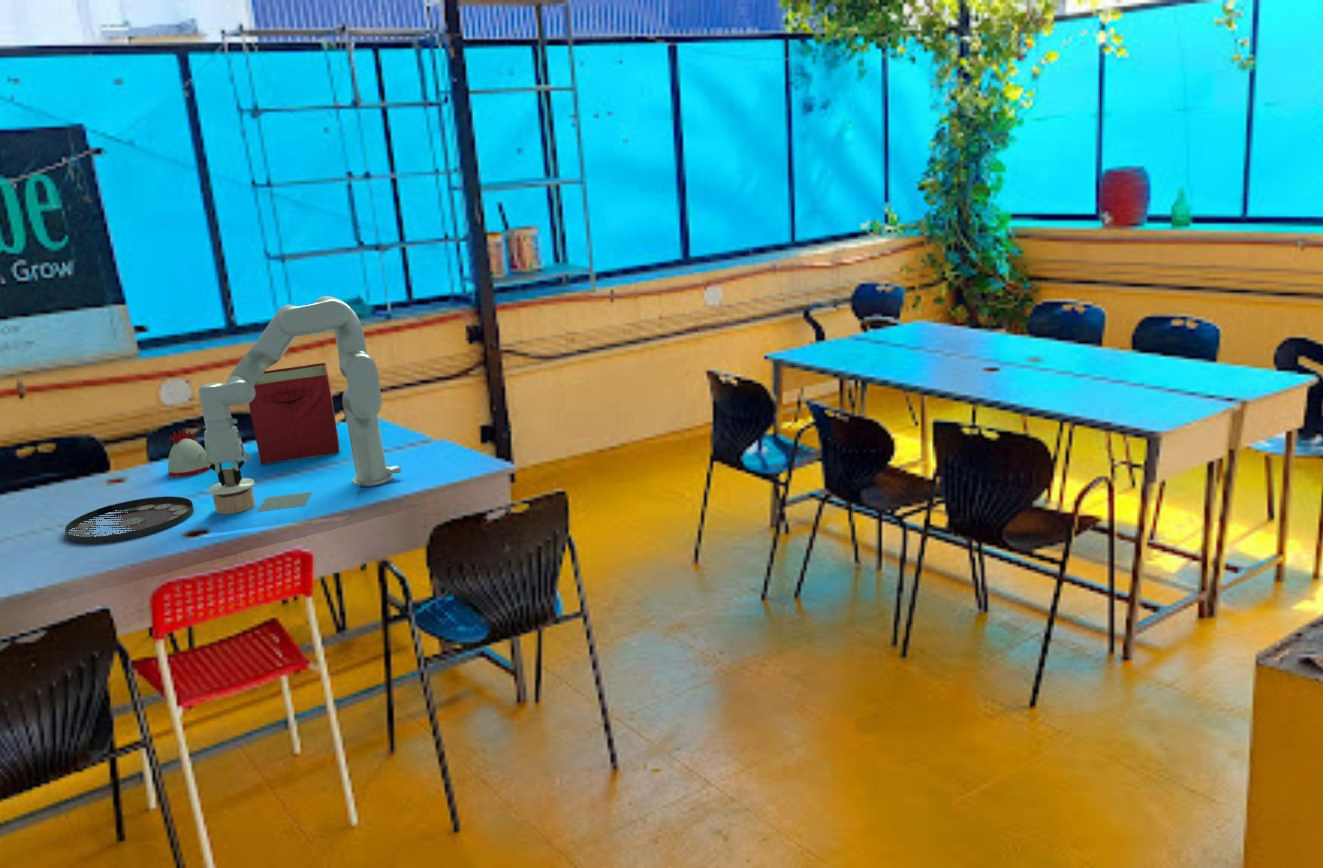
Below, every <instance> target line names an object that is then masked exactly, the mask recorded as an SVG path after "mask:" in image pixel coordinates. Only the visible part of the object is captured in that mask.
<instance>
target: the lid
mask: <svg viewBox="0 0 1323 868" xmlns="http://www.w3.org/2000/svg"><path fill="white" fill-rule="evenodd" d="M234 469H235V468H234V466H233V467H225V468H222V473H223V478H224V483H225V485H224V486H222V485H221V483H219V482H218V483H215V484H213V485H211V486H210V487H209V488H208V493H209V494H210V495H223V494H231V493H236V492H240V491H243V490H246V489H249V488H252V487H254V486H255V484H256V482H255V479H252V478H248V477H247V478H245V477H242V480H241V482H240V483H239V484H236V481H235V476H234V471H235V470H234Z"/></svg>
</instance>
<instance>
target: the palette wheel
mask: <svg viewBox="0 0 1323 868" xmlns="http://www.w3.org/2000/svg"><path fill="white" fill-rule="evenodd" d="M115 510H117V511H115ZM118 510H119V511H118ZM120 510H121V511H120ZM125 510H126V511H125ZM127 510H128V511H127ZM194 510H195V509H194V503H193V501H192V500H191V499H189V498H187V497H181V496H154V497H145V498H140V499H139V498H138V499H133V500H132V499H131V500H127V501H123V502H118V503H115V504H110V505H107V506H102V507H100V508H97V509H95V510H91V511H90V512H87V513H85V514H82V515H80V516H78V517H77V518H74V519H73V520H71V521H70V522H68V524H66V526H65V529H64V531H65V534H66V538H67V539H68V540H69V541H70V540H71V542H73V541H75V542H74V543H77V542H79V543H80V544H101V543H100V542H106V543H110V542H109V541H114V542H119V540H121V541H126V540H125V539H127V540H130V539H135V538H139V537H143V536H147V535H151V534H154V533H158V532H161V531H163V530H167V529H169V528H172V527H174V526H176V525H178V524H180V523H182V522H184V521H185V520H187V519H188V518H190V517H191V516H192V514H193V513H194ZM108 512H121V513H115V514H114V513H113V514H105V513H108ZM122 512H123V513H122ZM125 512H126V513H125ZM127 512H128V513H127ZM99 515H114V516H99ZM115 515H116V516H115ZM118 515H119V516H118ZM120 515H121V516H120ZM93 517H117V518H104V519H121V520H112V521H122V522H118V523H119V525H118V524H117V525H116V524H115V525H114V524H113V525H103V526H124V527H112V528H126V529H119V530H132V531H126V533H121V534H114V533H112V535H111V534H110V535H108V536H107V535H106V536H102V535H101V536H96V537H94V535H96V534H92V533H91V531H90V533H89V534H84V533H87V532H89V530H96V529H89V528H96V527H92V526H100V525H95V524H96V522H95V521H96V520H92V522H93V521H94V522H95V523H94V522H93V523H92V522H91V523H90V522H89V523H88V522H84V521H91V520H89V519H96V518H93ZM118 517H119V518H118ZM120 517H121V518H120ZM97 519H98V518H97ZM122 519H123V520H122ZM97 521H98V520H97ZM99 521H100V520H99ZM101 521H102V520H101ZM108 521H109V520H108ZM110 521H111V520H110ZM80 523H82V525H81V524H80ZM83 523H85V524H83ZM113 523H114V522H113ZM115 523H117V522H115ZM138 523H139V524H138ZM79 524H80V525H79ZM101 526H102V525H101ZM125 526H126V527H125ZM128 526H129V527H128ZM72 528H75V529H72ZM76 528H77V529H76ZM83 528H84V529H83ZM85 528H88V529H85ZM97 528H98V527H97ZM99 528H100V527H99ZM110 528H111V527H110ZM127 528H130V529H127ZM131 528H132V529H131ZM71 529H72V530H77V531H69V530H71ZM112 530H113V529H112ZM115 530H116V529H115ZM117 530H118V529H117ZM134 530H135V531H134ZM68 532H70V534H69V533H68ZM71 532H72V533H71ZM92 532H94V531H92ZM123 532H125V531H123ZM100 533H101V532H100ZM116 533H117V532H116ZM119 533H120V531H119ZM98 534H99V533H98ZM98 534H97V535H98ZM105 534H106V532H105ZM74 535H75V536H74ZM76 535H79V536H76ZM98 542H99V543H98Z"/></svg>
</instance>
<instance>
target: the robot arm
mask: <svg viewBox="0 0 1323 868" xmlns="http://www.w3.org/2000/svg"><path fill="white" fill-rule="evenodd" d="M328 330H332V331H333V334H334V336H335V341H336V346H337V347H336V348H337V355H338V365H339V371H340V372H341V374H342V376H343V377H344V378H345V379H346V383H347V384H346V385H347V386H346V388H345V389H344V391H343V392H342V399H341V402H342V409H343V412H344V415H345V420H346V425H347V430H348V436H349V442H350V447H351V448H350V449H351V454H352V460H353V465H354V470H355V471H354V472H355V477H354V478H352V480H351V482H352V484H354V485H359V487H360V488H363V487H364V488H366V487H368V488H369V487H374V486H379V485H382V484H383V485H384V484H385V483H387V482H389V481H392V479H394V477H393V474H401V472H402V470H401V466H398V465H395V466H389V465H388V463H387V462H386V460H385V452H384V447H383V440H382V434H381V428H380V423H379V417H378V415H379V413H380V411H381V409H382V403H383V402H382V392H381V384H380V378H379V371H378V367H377V364H376V362H375V360H374V359H373V358H372V356H370V355H369V354H368V352H367V351H368V350H367V343H366V339H365V333H364V328H363V325H362V322H361V320H360V318H359V317H358V315H357V313H356V311H354V310H353V308H351V306H350V305H348V304H347V303H346V302H344V301H343V300H341V299H338V298H336V297H333V296H329V295H325V296H324V295H323V296H320V297H319V298H317V299H316V301H315V302H314V303H311V304H307V305H300V306H297V305H294V304H286V305H284V306H282V307H280V308H279V309H278V310H277V312H276V313H275V314H274V316H273V317H272V319H271V320H270V322H269V323H268V324H267V326H266V327H265V329H264V330H263V332H262V333H261V334H260V336H259V337H258V339H257V340H256V341H255V342H254V344H253V345H252V346H251V347H250V348H249V350H248V351H247V352H246V354H245V355H244V356H243V357H242V358H241V360H240V361H239V362H238V363H237V365H235V368H234V369H233V371H232V372H231V373H230V374H229V376H228V378H227V380H226V382H225V383H222V382H209V383H206V384H203V385H200V386H199V388H198V397H199V400H200V406H201V410H202V411H201V412H202V414H203V420H204V425H205V429H206V430H204V435H203V436H204V437H203V438H204V450H205V452H206V457H205V459H204V462H203V465H204V466H206V467H209V468H211V469H210V470H212V471H214V472H215V473H216V474H217V477H218V478H217V479H218V483H221V485H222V486H224V485H225V483H224V478H223V473H222V470H223V467H222V465H223V464H224V463H232V465H233V467H234V468H235V469H234V470H235V471H234V476H235V481H236V484H239V483H240V482H241V480H242V478H243V477H242V473H241V472H242V471H241V468H242V467H243V466H244V465H245V464H246V463H247V462H249V461H250V460H251V456H250V455H249V453H247V451H246V450H245V449H244V448H245V447H244V443H243V440H242V437H241V434H240V432H239V429H238V427H237V426H236V425H235V424H238V419H237V418H234V417H233V416H232V413H231V409H230V407H234V406H237V407H238V406H245V405H249V403H250V402H252V400H253V399H254V397H255V388H254V385H255V383H256V382H257V380H258V379H259V378H260V376H261V375H262V374H263V373H264V371H267V370H268V369H269V368H270V367H272V366H274V365H275V364H277V363H278V362H279V361H280V360H282V358H283V356H284V355H285V354H286V352H287V350H288V349H289V348H290V346H291V345H292V343H293V342H294V340H295V339H296V337H300V336H305V335H311V334H316V333H319V332H324V331H328ZM222 463H223V464H222Z"/></svg>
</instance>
